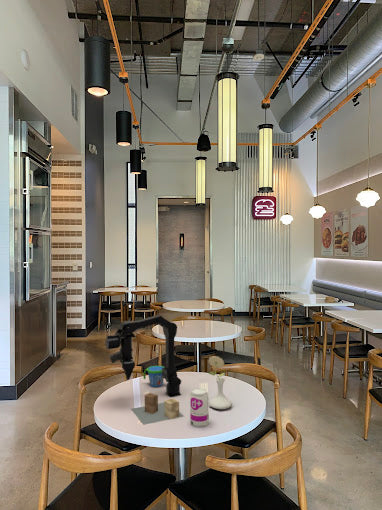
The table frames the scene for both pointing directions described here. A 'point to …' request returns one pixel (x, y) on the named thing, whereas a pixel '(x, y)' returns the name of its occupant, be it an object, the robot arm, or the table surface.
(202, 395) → the supplement can
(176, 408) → the oak block
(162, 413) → the slate mat
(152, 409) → the walnut block
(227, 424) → the table surface
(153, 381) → the snack cup
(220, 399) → the flower in vase
